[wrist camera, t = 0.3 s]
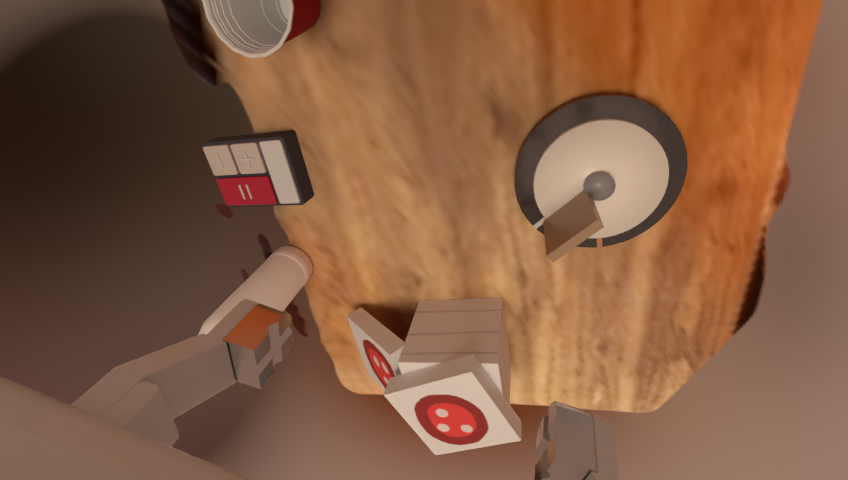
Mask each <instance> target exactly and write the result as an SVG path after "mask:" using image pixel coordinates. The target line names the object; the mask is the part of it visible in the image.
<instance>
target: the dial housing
mask: <svg viewBox="0 0 848 480" xmlns="http://www.w3.org/2000/svg"><path fill="white" fill-rule="evenodd" d="M599 118H617V119H623V120H626V121H630V122H633V123H635V124H637V125H639V126H641V127H642V128H644V129H645V130H647V131H648V132H649V133H650V134H651V135H652V136H653V137H654V138H655V139H656V140H657V141H658V142H659V144H660V145H661V146H662V148H663V150H664V152H665V154H666V157H667V160H668V166H669V179H668V185H667V188H666V191H665V194H664V196H663V198H662V200H661V201H660V203H659V204H658V206H657V207H656V209H655V210H654V211H653V212H652V213H651V214H650V215H649V216H648V217H647V218H646V219H645V220H644V221H642V222H641V223H640V224H638V225H637V226H635V227H633V228H632V229H630V230H628V231H625V232H623V233H620V234H617V235H614V236H610V237H605V238H587V239H586V240H585V241H583V242H582V243H580V244H579V245H577V246H578V247H597V248H601V247H603V246H608V245H614V244H617V243H620V242H624V241H626V240H629V239H631V238H634V237H635V236H637V235H639V234H641V233H643V232H645V231H646V230H647V229H649V228H650V227H652V226H653V225H654V224H656V223H657V222H658V221H659V220H660V219H661V218H662V217H663V216H664V215H665V214H666V213H667V212H668V211H669V209H670V208H671V207H672V205H673V204H674V203H675V201H676V199H677V197H678V196H679V194H680V192H681V189H682V187H683V184H684V181H685V177H686V172H687V152H686V148H685V143H684V140H683V138H682V136H681V134H680V132H679V130H678V129H677V127H676V125H675V124H674V123H673V122H672V121H671V119H670V118H669V117H668V116H667V115H666V114H664V113H663V112H662V111H660V110H659V109H658V108H656V107H655V106H654V105H652V104H650V103H648V102H646V101H644V100H642V99H640V98H637V97H634V96H630V95H625V94H619V93H598V94H592V95H587V96H583V97H580V98H577V99H574V100H572V101H569V102H567V103H565V104H563V105H561V106H559V107H558V108H556V109H554V110H553V111H552V112H550V113H549V114H548V115H546V116H545V117H544V118H543V119H542V120H541V121H540V122H539V123H538V124H537V125H536V126H535V127H534V128H533V129H532V131H531V132H530V133H529V135H528V136H527V138H526V139H525V141H524V143H523V145H522V147H521V149H520V152H519V155H518V158H517V162H516V168H515V191H516V196H517V200H518V203H519V205H520V208H521V210H522V212H523V213H524V215H525V216H526V218H527V219H528V220H529V222H530V223H531V224H532V225H533V227H534V228H535V229H537V230H538V231H540V232H541V233H543V234H544V226H543V221H544V220H546V219H545V217H544V216H543V215H542V213H541V212H540V210H539V208H538V206H537V203H536V200H535V195H534V173H535V169H536V165H537V163H538V161H539V158H540V157H541V155H542V153H543V152H544V150H545V149H546V147H547V146H548V145H549V144H550V143H551V142H552V141H553V140H554V139H555V138H556V137H557V136H558V135H560V134H561V133H562V132H564V131H565V130H567V129H569V128H570V127H572V126H574V125H577V124H579V123H582V122H585V121H588V120H593V119H599Z"/></svg>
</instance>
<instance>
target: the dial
mask: <svg viewBox="0 0 848 480" xmlns="http://www.w3.org/2000/svg"><path fill="white" fill-rule="evenodd" d="M668 179H669V166H668V160H667V157H666V154H665V152H664V150H663V148H662V146H661V145H660V144H659V142H658V141H657V140H656V139H655V138H654V137H653V136H652V135H651V134H650V133H649V132H648V131H647V130H645V129H644V128H642V127H641V126H639V125H637V124H635V123H633V122H630V121H626V120H623V119H617V118H599V119H593V120H588V121H585V122H582V123H579V124H577V125H574V126H572V127H570V128H569V129H567V130H565V131H564V132H562V133H561V134H560V135H558V136H557V137H556V138H555V139H554V140H553V141H552V142H551V143H550V144H549V145H548V146H547V147H546V149H545V150H544V152H543V153H542V155H541V157H540V158H539V161H538V163H537V165H536V169H535V173H534V195H535V200H536V203H537V206H538V208H539V210H540V212H541V213H542V215H543V216H544V217H545V219H546V220H544V221H543V226H544V236H545V245H546V254H547V257H549V258H550V259H551V260H552V261H553V262H554V261H556V260H557V259H559V258H560V257H562V256H563V255H564V254H566V253H567V252H569V251H570V250H572V249H573V248H575V247H576V246H577V245H579V244H580V243H582V242H583V241H585V240H586V239H587V238H605V237H610V236H614V235H617V234H620V233H623V232H625V231H628V230H630V229H632V228H633V227H635V226H637V225H638V224H640V223H641V222H642V221H644V220H645V219H646V218H647V217H648V216H649V215H650V214H651V213H652V212H653V211H654V210H655V209H656V207H657V206H658V204H659V203H660V201H661V200H662V198H663V196H664V194H665V191H666V188H667V185H668Z"/></svg>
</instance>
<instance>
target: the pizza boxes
mask: <svg viewBox="0 0 848 480" xmlns="http://www.w3.org/2000/svg"><path fill="white" fill-rule="evenodd" d="M347 319H348V322H349V324H350V327H351V330H352V333H353V335H354V338H355V341H356V343H357V346H358V349H359V351H360V354H361V357H362V359H363V362H364V365H365V367H366V370H367V373H368V374H369V375H370V377H371V378H372V379H373V380H374V381H375V382H376V383H377V384H378V385H379V386H380V387H381V388H382V389H383V390H384V391H385V393H384V396H385V397H386V398H387V399H388V401H389V402H390V403H391V404H392V405H393V406H394V408H395V409H396V410H397V411H398V412H399V413H400V415H401V416H402V417H403V418H404V419H405V420H406V422H407V423H408V424H409V425H410V426H411V427H412V429H413V430H414V431H415V432H416V433H417V434H418V436H419V437H420V438H421V439H422V440H423V441H424V442H425V444H426V445H427V446H428V447H429V448H430V449H431V451H432V452H433V453H434V454H435V455H439V454H445V453H451V452H457V451H463V450H469V449H475V448H481V447H486V446H491V445H498V444H503V443H509V442H516V441H521V420H520V419H519V417H518V416H517V414H516V413H515V412H514V410H513V409H512V407H511V406H510V404H509V402H510V365H511V360H510V352H509V345H508V338H507V330H506V323H505V316H504V308H503V301H502V298H481V299H451V300H420V301H419V303H418V306H417V309H416V311H415V314H414V317H413V320H412V323H411V326H410V329H409V332H408V334H407V337H406V340H405V342H404V341H402V340H401V339H400V338H399V337H397V336H396V335H395V334H394V333H393V332H391V331H390V330H389V329H388V328H386V327H385V326H384V325H383V324H381V323H380V322H379V321H378V320H376V319H375V318H374V317H373V316H371V315H370V314H369V313H368V312H366V311H365V310H364V309H363V308H361V307H360V308H359V309H357V310H355V311H354V312H352V313H350V314H349V315H347Z"/></svg>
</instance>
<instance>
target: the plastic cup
mask: <svg viewBox="0 0 848 480" xmlns="http://www.w3.org/2000/svg"><path fill="white" fill-rule="evenodd" d="M202 1H203V5H204V9H205V13H206V17H207V19H208V20H209V22H210V24H211V26H212V27H213V29H214V31H215V32H216V34H217V36H218V37H219V38H220V39H221V40H222V41H223V42H224V43H225V44H226V45H227V46H228V47H229V48H231V49H232V50H233V51H234V52H237V53H239V54H242V55H244V56H247V57H249V58H256V57H267V56H269V55H270V54H272V53H273V52H275V51H276V50H277V49H279V48H280V47H282V46H283V44H284V43H285V42H287V41H289V40H291V39H293V38H295V37H297V36H299V35H300V34H302V33H303V32H305V31H306V30H308V29H309V28H311V27H312V26H314V24H315V23H316V21H317V19H318V17H319V13H320V3H319V0H202Z"/></svg>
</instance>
